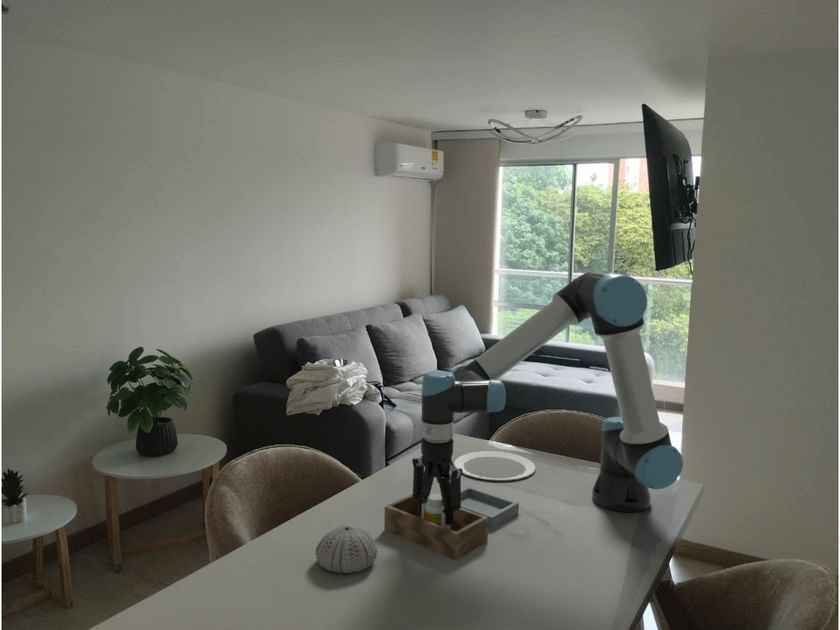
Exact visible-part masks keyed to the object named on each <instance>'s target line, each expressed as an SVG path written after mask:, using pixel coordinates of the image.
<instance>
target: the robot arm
mask: <svg viewBox="0 0 840 630" xmlns="http://www.w3.org/2000/svg"><path fill="white" fill-rule="evenodd" d="M647 308H648V297H647V292H646V289H644V287H643V285H642V284H641V283H640V282H639V281H638V280H637V279H636V278H634V277H632V276H630V275H628V274H626V273H621V272H611V271H605V270H601V269H600V270H599V269H598V270H597V269H596V270H590V271H587V272H585V273H582V274H581V275H579V276H578V277H576V278H574V279H573V280H572V281H571V282H568V284H566V285H565V286H564V287H562V288H561V289H560V290H558V291H557V292H556V293H555V294H553V295H552V299H551V301H550V302H549V303H548V304H546V305H545V306H544V307H543V308H541V309H540V310H539V311H537V312H536V313H535V314H533V315H532V316H530V317H529V318H528V319H527V320H526V321H524V322H523V323H522V324H520V325H518V327H516V328H514V330H512V331H510V332H509V333H508V334H507V335H506V336H504V337H503V338H501V339H500V340H499V341H498V342H496V343H495V344H494V345H492V346H491V347H489V348H488V349H487V350H485V351H484V352H483V353H481V354H480V355H479V356H478V357H476V358H475V359H474V360H472V361H471V362H469V363H468V364H467V365H463V364H462V365H459V366H455V368H454V369H453V370H452V371H451V372H449V371H441V370H437V371H436V370H434V371H430V372H426V373H425V374H424V375H423V377H422V383H421V384H422V385H421V386H422V387H421V437H422V438H421V441H420V442H421V444H420V449H421V450H420V453H421V455H420V456H417V457H414V458H412V460H411V463H412V466H413V479H412V480H413V481H412V482H413V483H412V494H413V497H414V498H417V499H418V500H419V502H420V515H421V518H422V519H425V506H426V505H427V504H428V501H427V500H428V496H429V495H431V490H432V487H433V483H434V480H435V479H436V482H437V484H439V485H438V486H439V491H440V494H441V496H442V501H443V506H444V510H443V511H441V526H443V527H446V528H448V529H451V524H452V523H453V512H454V511H456V510H458V509H460V508H461V490H462V488H461V486H462V484H461V483H462V482H461V481H462V480H461V479H462V475H463V474H462V472H463V470H462V469H461V468H459V469H457V468H456V467H455V466H454V463H453V460H452V457H453V455H454V439H453V438H454V435H455V434H454V433H455V431H454V429H455V428H454V427H455V423H454V422H455V419H454V418H455V414H469V413H470V414H475V413H476V414H477V413H487V414H490V413H496V412H501V411H503V410H504V409H505V406H506V400H507V394H506V387H505V384H504V383H503V381H502V380H500V378H501V377H503V376H504V375H505V374H507V373H508V372H509V371H511V370H512V369H513V368H515V367H516V366H517V365H519V364H520V363H521V362H522V361H523V362H524V360H525V359H527V358H528V357H529V356H530V355H533V353H535V352H536V351H537V350H538V349H540V348H541V347H542V346H544V345H545V344H547V343H548V342H549V341H550V340H551V341H552V339H553V338H555V337H556V336H557V335H559V334H560V333H561V332H563V331H564V330H565V329H566V328H568V327H570V326H572V325H573V326H577V325H578V324H580V323H581V322H583V321H585V320H586V319H589V318H591V324H592V327H593V330H594V334H595V336H598V337H600V338H601V339H602V341H603V345H604V349H605V353H606V358H607V361H608V366H609V370H610V374H611V378H612V383H613V387H614V392H615V395H616V398H617V404H618V409H619V412H620V416H612V417H611V416H610V417H607V418H605V419H604V420H603V423H602V429H601V448H600V449H601V450H600V469H599V473H598V476H597V477H596V480H595V482H594V485H593V488H592V492H591V499H592V501H593V502H594V503H595V504H596V505H598V506H600V507H602V508H604V509H608V510H611V511H614V512H615V511H616V512H622V513H639V512H643V511H645V510H648V509H649V508H650V507H651V493H650V490H649V489H651V490H663V489H665V488H668V487H670V486H671V485H672V484H674V483H675V482H676V481H677V480H678V478H679V476H681V474H682V472H683V468H684V459H683V456H682V454H681V452H680V451H679V449H678V448H676V447H675V446H673V445H672V441H671V436H670V432H669V429H668V426H667V425H666V424H664V423H662V422H661V421H660V417H659V414H658V409H657V404H656V399H655V395H654V390H653V387H652V383H651V382H652V381H651V377H650V374H649V372H650V371H649V368H648V365H647V364H648V363H647V361H646V360H647V359H646V355H645V351H644V346H643V342H642V339H641V333H640V331H641V329H642V328H643V327H644V325H645V321H644V315H645V314H644V313H645V311H646V310H647Z"/></svg>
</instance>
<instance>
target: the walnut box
mask: <svg viewBox="0 0 840 630" xmlns="http://www.w3.org/2000/svg"><path fill="white" fill-rule="evenodd" d="M427 501H428V500H427ZM383 524H384V531H386V532H388V533H390V534H393V535H396V536H398V537H401V538H403V539H405V540H407V541H410V542H412V543H414V544H417V545H420V546H422V547H424V548H426V547H427V549H428V550H430V551H433V552H436V553H438V554H440V555H442V556H446V557H448V558H450V559H451V560H452V559H453V560H455V561H458V560H460V559H461V558H462V557H464V556H466V555H467V554H469V553H471V552H472V551H474V550H475V549H477V548H479V547H481V546H483V545H484V544H486V543H488V541H489V528H488V517H486V516H483V515H481V514H478V513H475V512H472V511H469V510H467V509H464V508H460V509H458V510H456V511H454V512H453V523H452V524H451V529H448V528H446V527H443V526H440V525H438V524H435V523H433V522H430V521H428V520H425V519H422V518H421V515H420V502H419V500H418V499H417V498H414V497H413V493H412V494H410V495H409V494H408V495H407V496H405V497H403V498H401V499H398V500H396V501H394V502H391V503H389V504H386V505H385V506H384V523H383Z"/></svg>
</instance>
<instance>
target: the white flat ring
mask: <svg viewBox="0 0 840 630" xmlns="http://www.w3.org/2000/svg"><path fill="white" fill-rule="evenodd" d="M477 457H478V458H488V457H489V458H491V457H493V458H501V459H502V458H503V459H508V460H511V461H515V462H516V463H517V462H518V463H519V464H521V465H522V466H523V465H524V466H523V468H524V471H525V472H524V471H523V472H524V473H523V472H522V473H523V474H522V473H521V474H522V475H521V474H519V475H515V476H516V477H515V476H513V477H512V476H511V477H504V478H501V477H500V478H498V477H496V478H495V477H486V476H481V477H480V475H477V474H474V473H472V472H470V471H468V470H467V469H466V468H465V464H466V463H467V462H468V461H470V460H473V459H478V458H477ZM464 463H465V464H464ZM453 466H454V467H456V468H457V469H459V468H461V469H462V470H463V472H462V475H465V476H467V477H469V478H474V479H477V480H482V481H489V482H512V481H518V480H521V479H526V478H528V477H530V476H532V475H533V474H534V473H535V471H536V465H535V464H534V463H533V461H531V460H529V458H526V457H523V456H521V455H518V454H514V453H510V452H503V451H493V450H492V451H491V450H490V451H487V450H486V451H483V450H482V451H474V452H468V453H465V454H463V455H461V456H458V457H457V458H456V459H454V463H453ZM465 469H466V470H467V471H468V472H467V471H466V470H465ZM525 469H526V470H525ZM469 472H470V473H469ZM471 473H472V474H471ZM473 474H474V475H473Z"/></svg>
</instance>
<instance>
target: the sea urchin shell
mask: <svg viewBox="0 0 840 630" xmlns="http://www.w3.org/2000/svg"><path fill="white" fill-rule="evenodd" d="M315 548H316V549H315V554H314V555H315V556H316V558H315V559H316V560H317V561H318V564H319V565H320V566H321V568H324V569H325V570H327V571H329V572H334V573H339V574H341V573H345V574H348V573H349V574H351V573H354V572H360V571H362V570H365V569H367V568H369V567H370V566H372V564H373V563H374V562H375V560H377V555H378V554H377V553H378V550H377V545H376V542H375V540H374V539H373V537H372V536H371V535H370V534H369V533H368V532H367V531H365V530H364V529H363V528H361V527H358V526H350V525H346V524H344V525H343V524H342V525H340V526H337V527H335V528H333V529H332V530H330V531H329V532H326V534H325V535H323V537H322V538H321V540H320V541H319V542H318V544H317V545H316V546H315Z"/></svg>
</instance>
